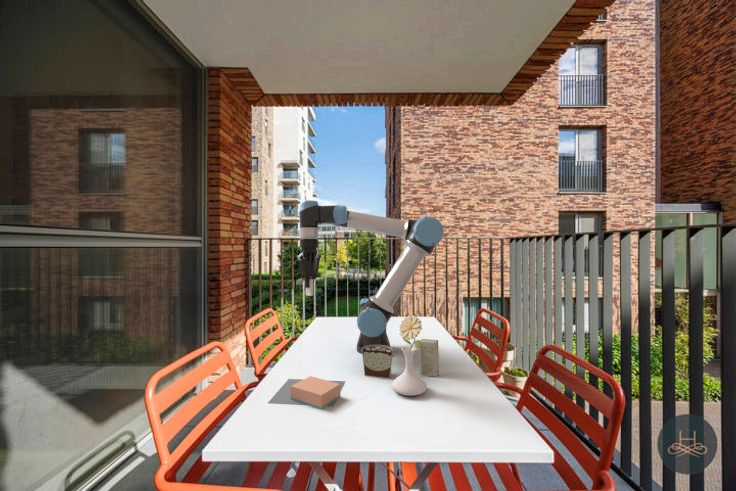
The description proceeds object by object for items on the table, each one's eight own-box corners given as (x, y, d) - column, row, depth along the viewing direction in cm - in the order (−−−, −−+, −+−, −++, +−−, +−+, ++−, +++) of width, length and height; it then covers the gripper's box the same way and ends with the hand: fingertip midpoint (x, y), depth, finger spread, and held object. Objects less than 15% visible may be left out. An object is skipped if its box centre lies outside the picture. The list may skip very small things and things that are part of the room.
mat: (345, 383, 114) (345, 381, 114) (333, 408, 96) (333, 406, 96) (288, 380, 117) (288, 378, 117) (267, 405, 99) (267, 403, 99)
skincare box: (439, 373, 123) (439, 339, 123) (436, 377, 119) (436, 343, 119) (422, 370, 125) (422, 337, 125) (419, 374, 121) (418, 341, 121)
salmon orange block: (290, 386, 101) (321, 395, 95) (310, 376, 109) (340, 383, 102) (290, 399, 101) (321, 409, 95) (310, 388, 109) (340, 397, 102)
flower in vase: (385, 387, 111) (384, 311, 111) (415, 381, 115) (414, 309, 115) (404, 404, 99) (404, 319, 99) (437, 397, 103) (436, 316, 103)
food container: (398, 373, 123) (397, 345, 123) (393, 379, 117) (393, 351, 117) (366, 369, 127) (366, 342, 127) (360, 375, 121) (360, 347, 121)
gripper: (312, 238, 146) (312, 292, 146) (291, 238, 135) (291, 296, 135) (326, 238, 142) (326, 294, 142) (305, 237, 131) (305, 298, 131)
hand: (309, 295), depth 138 cm, fingers closed
